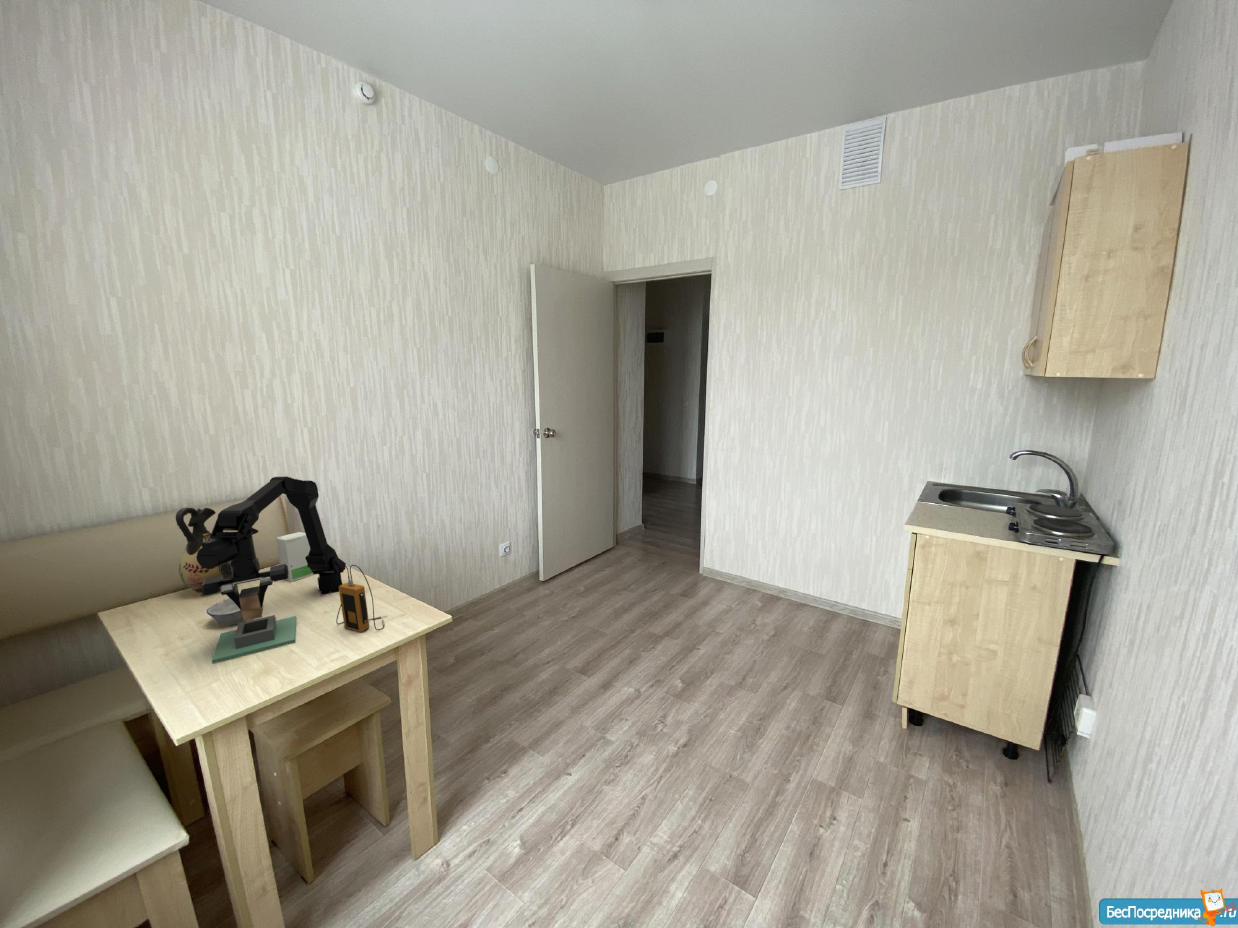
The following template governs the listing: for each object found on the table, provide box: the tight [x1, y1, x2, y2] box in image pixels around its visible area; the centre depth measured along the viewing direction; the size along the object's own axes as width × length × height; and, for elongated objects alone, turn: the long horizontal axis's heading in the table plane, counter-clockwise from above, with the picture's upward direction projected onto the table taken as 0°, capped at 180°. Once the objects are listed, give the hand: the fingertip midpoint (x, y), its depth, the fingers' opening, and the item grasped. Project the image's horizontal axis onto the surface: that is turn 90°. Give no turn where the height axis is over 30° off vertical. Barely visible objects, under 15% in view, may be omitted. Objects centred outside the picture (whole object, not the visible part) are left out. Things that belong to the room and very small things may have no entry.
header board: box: [211, 614, 297, 665], centre depth 141 cm, size 18×16×4 cm
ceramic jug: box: [175, 507, 233, 596], centre depth 173 cm, size 17×15×30 cm
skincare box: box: [276, 531, 315, 583], centre depth 184 cm, size 8×7×16 cm
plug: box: [239, 585, 264, 622], centre depth 140 cm, size 4×6×7 cm
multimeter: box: [335, 562, 387, 633], centre depth 147 cm, size 15×10×20 cm
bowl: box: [206, 597, 244, 626], centre depth 154 cm, size 13×13×5 cm
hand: (252, 608), depth 140 cm, fingers closed on plug, 4 cm apart
